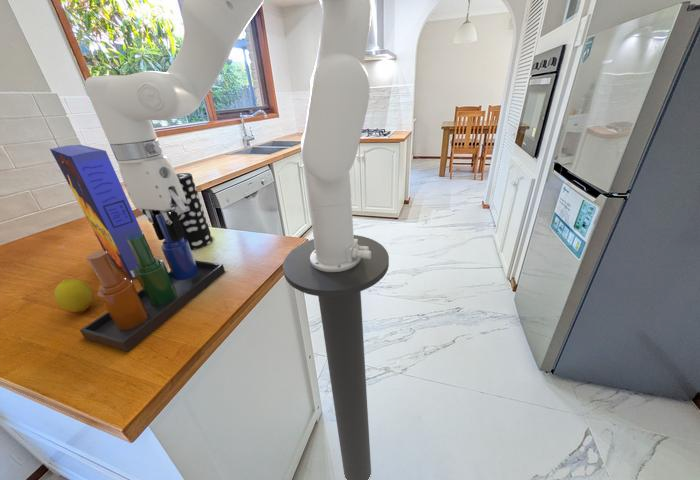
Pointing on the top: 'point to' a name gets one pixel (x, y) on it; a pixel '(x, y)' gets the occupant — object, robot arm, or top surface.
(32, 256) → the top surface
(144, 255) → the green bottle
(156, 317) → the tray
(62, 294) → the lemon
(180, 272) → the blue bottle
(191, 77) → the robot arm
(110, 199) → the cereal box
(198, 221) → the spotted tube
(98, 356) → the top surface
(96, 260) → the amber bottle
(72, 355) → the top surface
